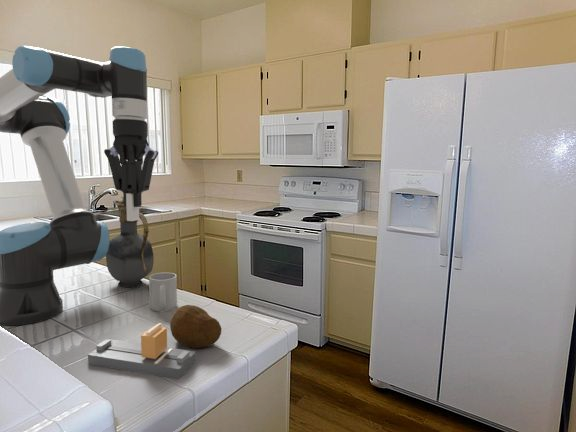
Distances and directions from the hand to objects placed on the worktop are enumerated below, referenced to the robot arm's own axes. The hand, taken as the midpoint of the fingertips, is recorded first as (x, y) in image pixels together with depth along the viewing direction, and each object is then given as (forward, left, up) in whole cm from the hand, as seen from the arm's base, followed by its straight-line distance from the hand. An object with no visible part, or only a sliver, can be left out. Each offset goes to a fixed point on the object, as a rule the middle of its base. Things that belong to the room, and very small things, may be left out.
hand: (133, 220), depth 92 cm
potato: (+18, -6, -27) cm, 33 cm away
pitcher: (-18, +25, -27) cm, 41 cm away
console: (+12, -16, -26) cm, 33 cm away
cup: (+1, +11, -27) cm, 29 cm away
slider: (+15, -16, -24) cm, 32 cm away
